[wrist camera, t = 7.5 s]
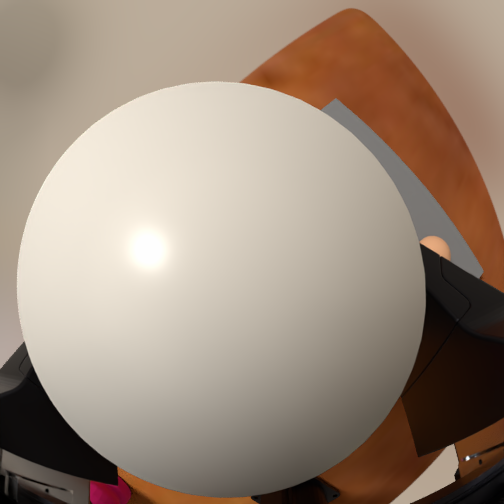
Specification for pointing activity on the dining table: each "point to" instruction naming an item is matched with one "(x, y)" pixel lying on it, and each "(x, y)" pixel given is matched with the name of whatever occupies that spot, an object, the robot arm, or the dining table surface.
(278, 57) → the dining table surface
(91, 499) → the pepper mill
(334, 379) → the salt shaker
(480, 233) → the dining table surface
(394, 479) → the dining table surface
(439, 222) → the board
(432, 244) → the ball
